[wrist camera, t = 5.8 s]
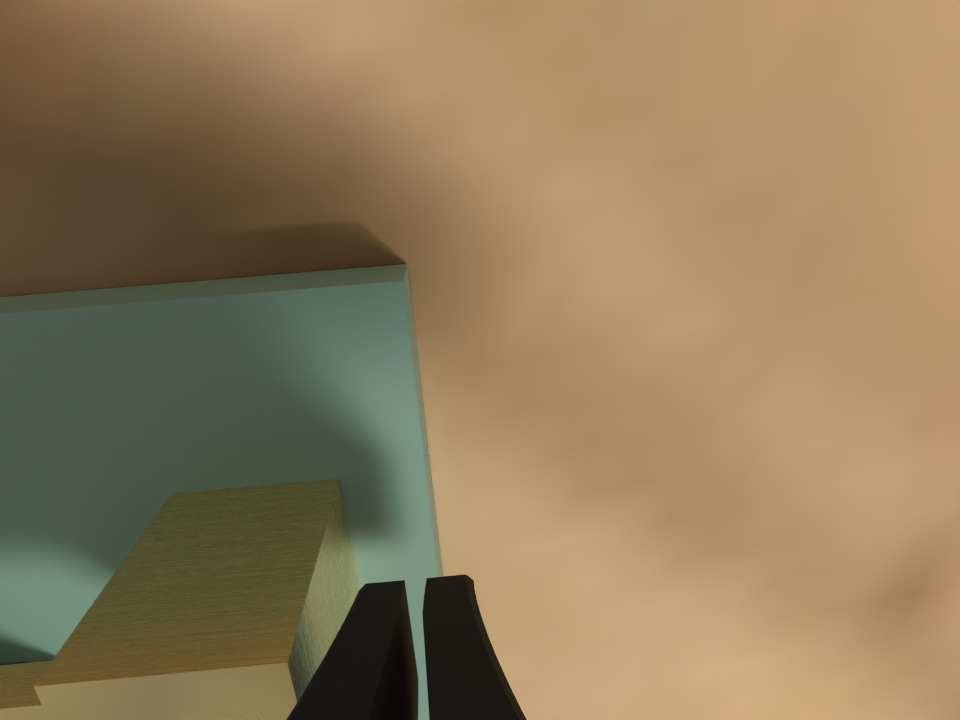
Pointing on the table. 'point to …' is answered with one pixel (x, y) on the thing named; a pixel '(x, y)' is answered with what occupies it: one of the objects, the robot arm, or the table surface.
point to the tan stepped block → (205, 613)
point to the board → (204, 428)
